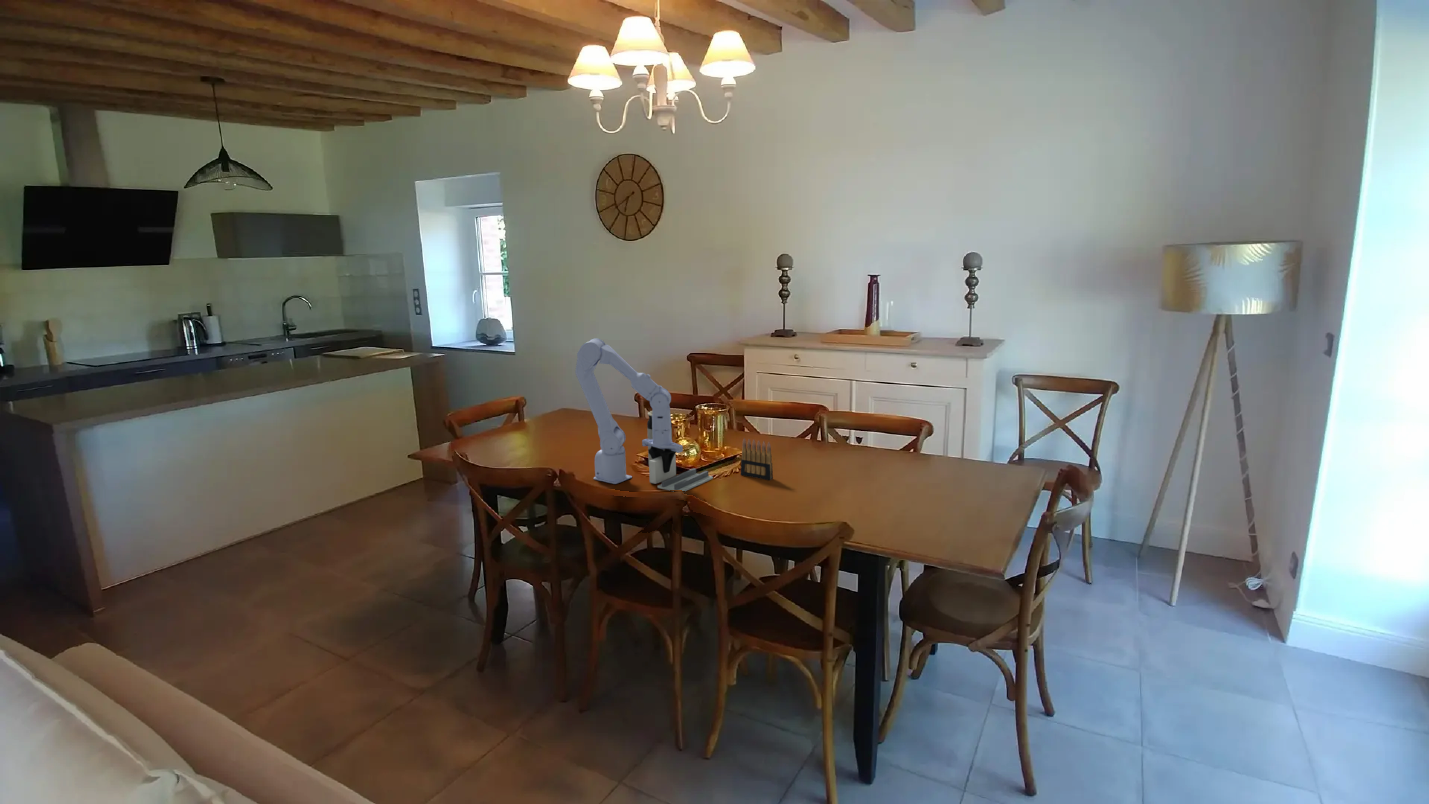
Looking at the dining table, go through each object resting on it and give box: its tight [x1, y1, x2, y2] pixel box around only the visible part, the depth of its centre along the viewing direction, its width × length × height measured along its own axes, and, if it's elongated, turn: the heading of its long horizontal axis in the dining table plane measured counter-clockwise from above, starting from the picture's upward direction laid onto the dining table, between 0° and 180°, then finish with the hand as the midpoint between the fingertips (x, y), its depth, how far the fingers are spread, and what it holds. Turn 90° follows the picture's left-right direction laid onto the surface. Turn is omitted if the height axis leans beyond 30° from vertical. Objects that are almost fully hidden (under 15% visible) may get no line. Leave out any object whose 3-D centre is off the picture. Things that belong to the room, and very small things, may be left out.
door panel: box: [648, 453, 677, 485], centre depth 226 cm, size 2×10×7 cm, turn 145°
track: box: [657, 468, 714, 492], centre depth 223 cm, size 9×16×2 cm, turn 145°
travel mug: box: [646, 410, 673, 461], centre depth 239 cm, size 8×8×18 cm
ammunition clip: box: [740, 437, 774, 481], centre depth 227 cm, size 11×2×12 cm, turn 56°
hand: (662, 471), depth 226 cm, fingers closed on door panel, 2 cm apart
